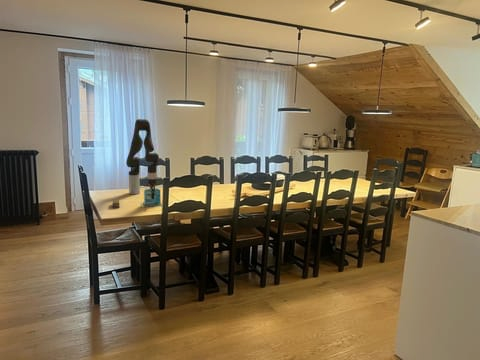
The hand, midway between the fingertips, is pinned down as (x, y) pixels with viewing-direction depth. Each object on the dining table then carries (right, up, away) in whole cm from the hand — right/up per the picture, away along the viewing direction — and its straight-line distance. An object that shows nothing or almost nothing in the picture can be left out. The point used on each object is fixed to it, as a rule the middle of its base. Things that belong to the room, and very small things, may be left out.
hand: (152, 197), depth 295 cm
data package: (0, -5, +1) cm, 5 cm away
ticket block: (-27, -6, -8) cm, 29 cm away
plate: (0, -5, +1) cm, 6 cm away
